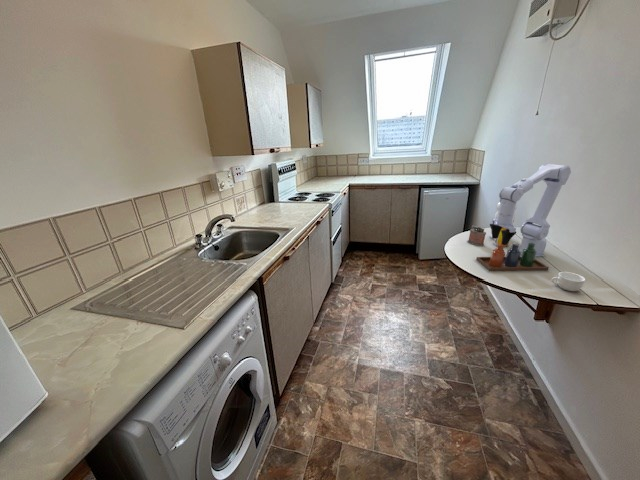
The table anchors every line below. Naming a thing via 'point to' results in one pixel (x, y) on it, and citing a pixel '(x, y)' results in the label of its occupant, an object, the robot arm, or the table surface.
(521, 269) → the tray
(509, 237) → the robot arm
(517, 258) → the slate-blue bottle
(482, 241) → the lighter
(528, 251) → the green bottle
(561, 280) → the teacup
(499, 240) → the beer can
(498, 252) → the terracotta bottle
